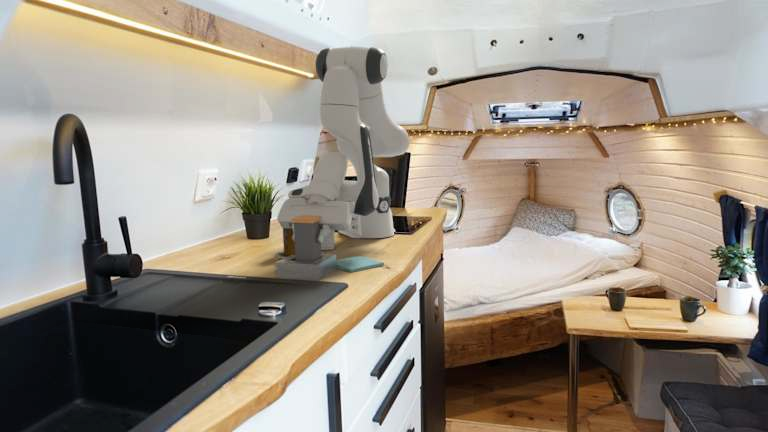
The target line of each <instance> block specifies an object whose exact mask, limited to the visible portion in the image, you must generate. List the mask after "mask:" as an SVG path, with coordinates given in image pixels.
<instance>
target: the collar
mask: <svg viewBox="0 0 768 432" xmlns="http://www.w3.org/2000/svg"><path fill="white" fill-rule="evenodd" d="M336 260H337V254H334V253H321V258H319V259H317V260H315V261H314V262H307V261H296V257H295V253H294V254H292V255H290V256H288V257H286V258H281V259H280V260H278V261H275V269H276V278H282V279H293V280H294V279H295V280H306V281H307V280H309V281H320V280H321V279H323V278H325V277H326V276H328V275H329V274H331V273H333V272H334V271H336V270H337V267H336Z"/></svg>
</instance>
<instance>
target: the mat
mask: <svg viewBox="0 0 768 432" xmlns="http://www.w3.org/2000/svg"><path fill="white" fill-rule="evenodd" d="M384 264H385V262H383V261H380V260H376V259H373V258H370V257H366V256H363V255H357V256H352V257H348V258H347V257H346V258H341V259H336V267H337V268H338V269H340V270H343V271H346V272H349V273H354V272H359V271H363V270H369V269H373V268H378V267H382V266H385V265H384Z"/></svg>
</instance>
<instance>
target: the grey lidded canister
mask: <svg viewBox="0 0 768 432" xmlns="http://www.w3.org/2000/svg"><path fill="white" fill-rule="evenodd" d="M321 217H322V216H310V215H301V216H298V217H295V218H292V223H294V236H295V257H296V261H307V262H314V261H315V260H317V259H319V258H321V254H322V250H321V243H317V242H316V241H315V237H316V234H319V233H320V232H321V231H320V224H319V221H320V220H321Z"/></svg>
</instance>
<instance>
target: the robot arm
mask: <svg viewBox="0 0 768 432" xmlns="http://www.w3.org/2000/svg"><path fill="white" fill-rule="evenodd" d="M387 58H388V57H387V55H386V53H385V52H384V51H383V50H382V49H381V48H377V47H375V46H374V47H372V46H371V47H366V46H365V47H364V46H344V47H343V46H342V47H336V48H333V47H327V48H324V49H321V50H320V52H319V53H318V54H317V55H316V59H315V71H316V75H317V77H318V79H319V80H320V81H321V82H322V86H321V91H320V92H321V93H320V106H319V119H320V124H321V125H322V127H323V128H324V130H325V131H326V132H327V133H329V135H331V136H332V137H335V138H336V147H337V149H338V151H335V150H327V151H324V152H323V153H322V154H321V156H320V157H319V159H318V161H317V163H316V164H315V167H314V170H313V173H312V179H311V181H310V182H309V184H308V185H305V186H303V187H300V188H299V187H298V188H295V189H292V190H289V192H288V195H287V197H288V198H287V199H286V200H284V201H283V204H282V205H281V207H280V209H279V212H278V214H277V218H276V220H277V222H278V224H279V225H280V227H281V228H282V229H283V228H292V229H293V232H294V223H292V218H295V217H298V216H301V215H310V216H322V217H321V220H320V221H319V224H320V230H322V231H321V232H320V233H319V234H316V237H315V241H316V242H317V243H322V242H323V238H324V237H326V236H327V235H328V234H329V233H330V230H335V231H337V232H338V233H340V234H342V235H344V236H347V237H349V238H352V239H382V238H389V237H393V236H394V235H395V233H396V229H395V228H394V221H393V212H392V209H391V208H390V206H391V201H392V199H391V196H390V177H389V174H388V173H387V171H386V170H384V169H383V168H381V167H379V166H377V165H376V164H374V158H393V157H396V156H397V157H398V156H401V155H404V154H405V153H406V152H407V150H408V148H409V146H410V137H409V133H408V131H407V130H406V129H405V128H404V127H403V126H402V125H399V124H398V123H396V121H394V120H393V119H392V118H391V116H390V114H389V113H388V112H387V109H386V106H385V101H384V94H383V86H382V82H383V80H385V79H386V77H387V74H388V70H389V69H388V65H389V64H388V59H387ZM364 124H365V125H364ZM348 162H350V164H351V165H352V167H353V169H354V171H355V174H356V179H357V180H348V179H346V174H347V170H348V164H349V163H348ZM394 232H395V233H394ZM292 239H293V241H295V236H294V234H293V237H292Z"/></svg>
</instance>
